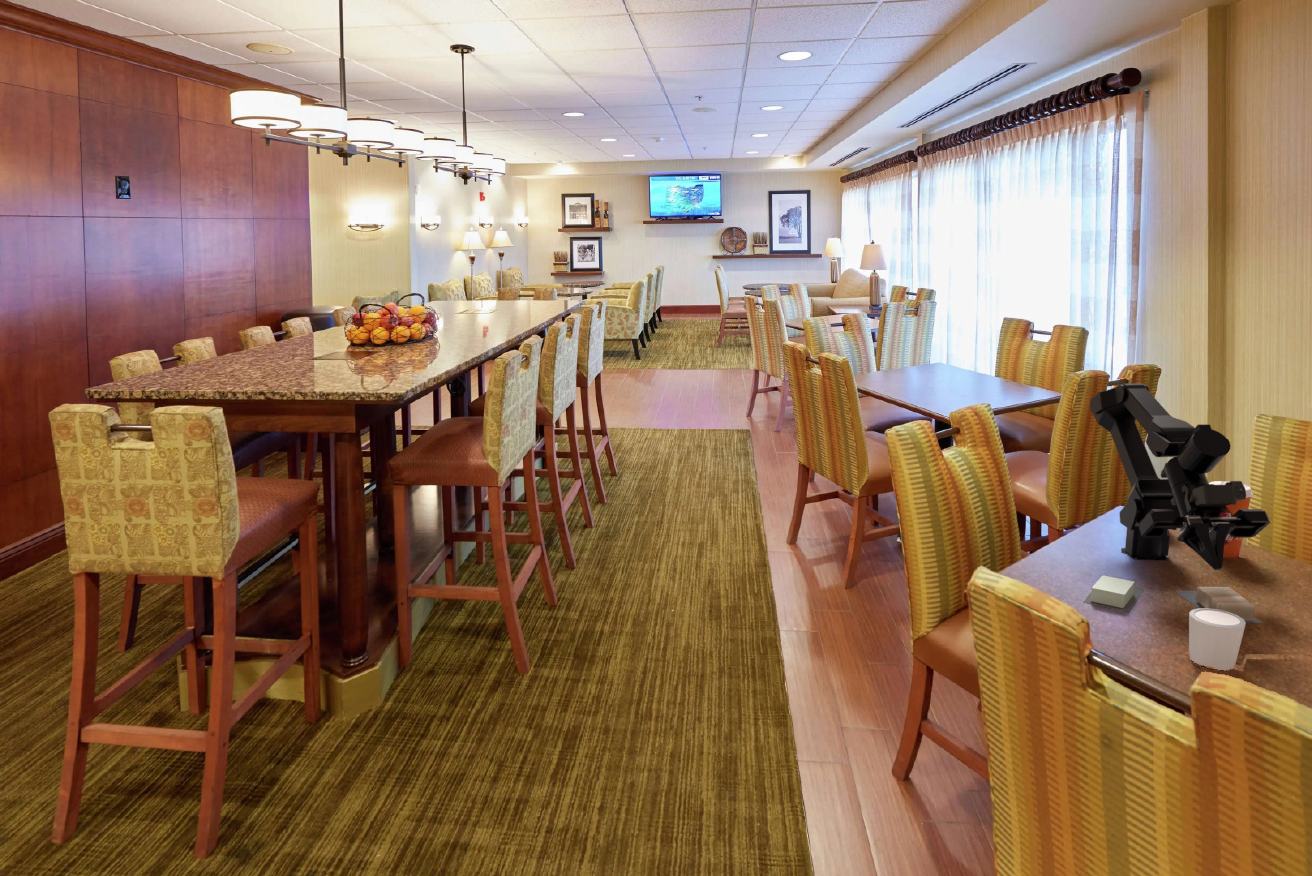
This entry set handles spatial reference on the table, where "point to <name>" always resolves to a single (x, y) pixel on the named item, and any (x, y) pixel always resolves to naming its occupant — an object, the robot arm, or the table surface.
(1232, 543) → the paper cup
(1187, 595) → the pair of gray tiles
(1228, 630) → the white cup
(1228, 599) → the cream tile
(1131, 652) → the table surface
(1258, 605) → the table surface
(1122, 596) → the sage tile
